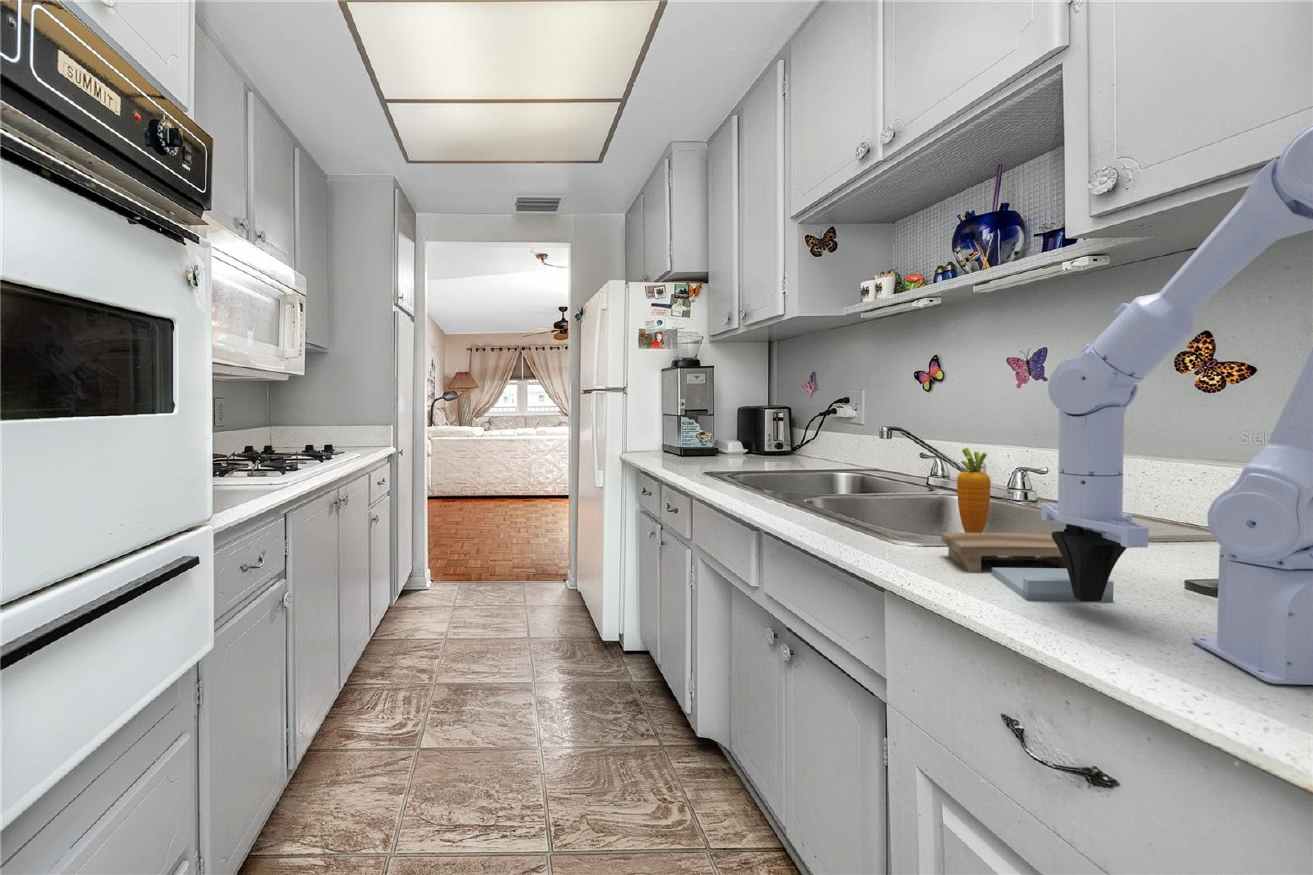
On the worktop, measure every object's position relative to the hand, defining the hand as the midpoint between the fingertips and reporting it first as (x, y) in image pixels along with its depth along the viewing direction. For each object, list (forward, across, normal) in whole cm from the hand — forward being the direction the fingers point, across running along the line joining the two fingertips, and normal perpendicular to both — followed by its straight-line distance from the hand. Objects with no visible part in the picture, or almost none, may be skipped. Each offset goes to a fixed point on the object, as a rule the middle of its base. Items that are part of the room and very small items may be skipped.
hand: (1087, 599), depth 70 cm
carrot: (+2, +33, -3) cm, 33 cm away
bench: (+1, +20, -2) cm, 21 cm away
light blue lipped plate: (+2, +9, -1) cm, 10 cm away
